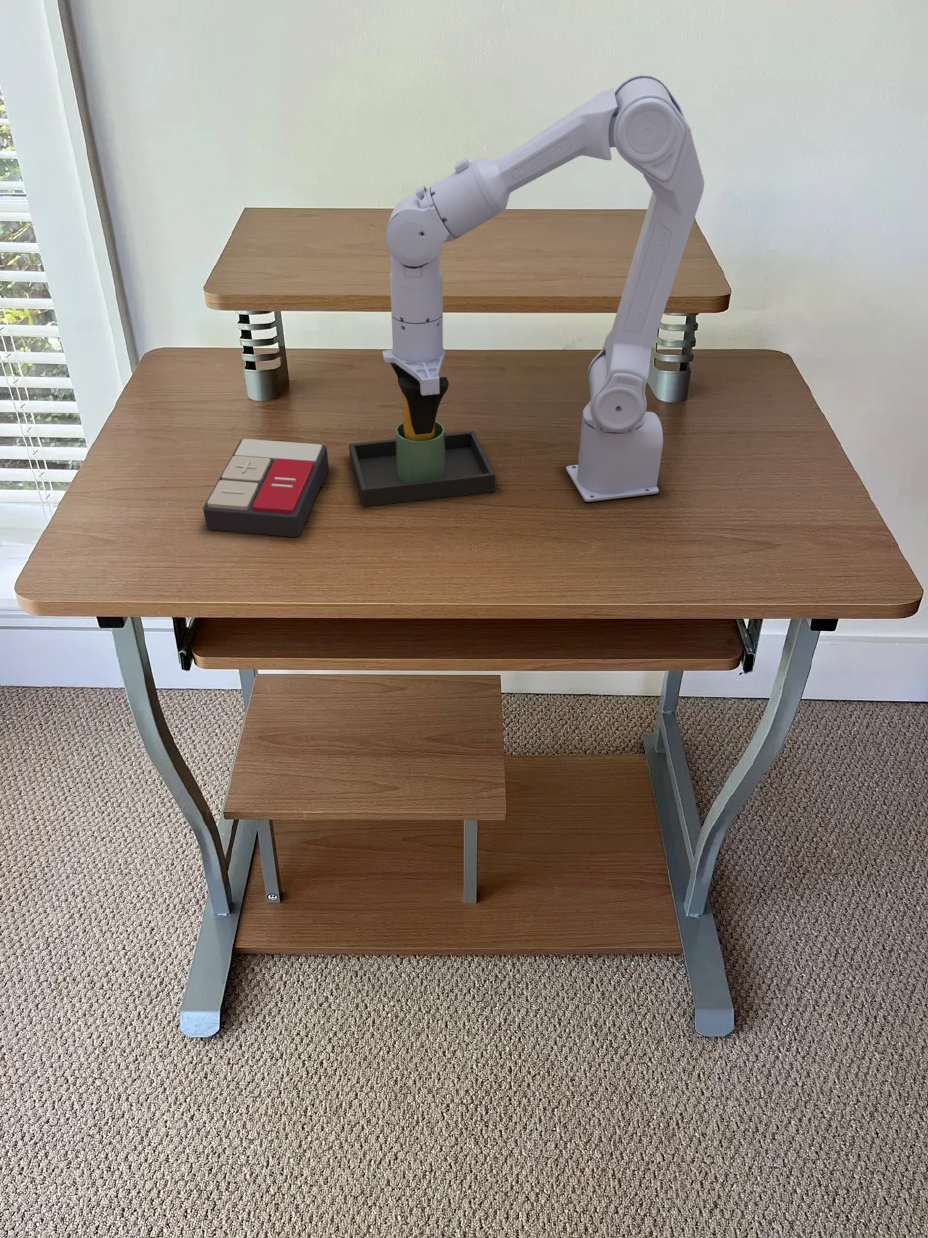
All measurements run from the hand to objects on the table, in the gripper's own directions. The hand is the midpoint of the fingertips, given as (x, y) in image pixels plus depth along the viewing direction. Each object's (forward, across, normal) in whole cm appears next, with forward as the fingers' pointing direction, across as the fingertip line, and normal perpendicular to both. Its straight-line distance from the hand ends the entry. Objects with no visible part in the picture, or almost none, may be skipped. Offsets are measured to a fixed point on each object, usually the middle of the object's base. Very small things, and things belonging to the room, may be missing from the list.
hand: (419, 423), depth 118 cm
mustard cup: (+1, 0, 0) cm, 1 cm away
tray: (+7, 0, 0) cm, 7 cm away
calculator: (+7, +2, -19) cm, 20 cm away
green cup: (+7, 0, 0) cm, 7 cm away
